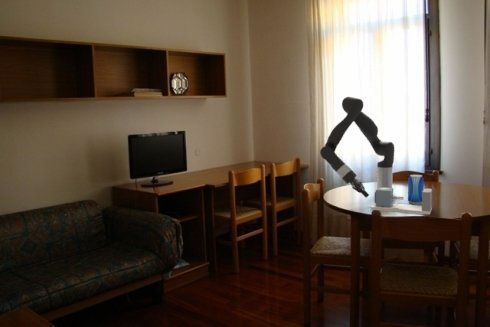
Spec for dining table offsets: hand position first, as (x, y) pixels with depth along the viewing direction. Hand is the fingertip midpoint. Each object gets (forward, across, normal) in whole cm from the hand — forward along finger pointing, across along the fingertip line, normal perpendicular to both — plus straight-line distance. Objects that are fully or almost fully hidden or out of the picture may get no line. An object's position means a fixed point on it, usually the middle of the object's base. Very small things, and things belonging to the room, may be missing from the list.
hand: (367, 196), depth 255 cm
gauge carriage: (+11, -1, -6) cm, 13 cm away
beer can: (+21, +19, -12) cm, 31 cm away
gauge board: (+17, 0, -9) cm, 19 cm away
